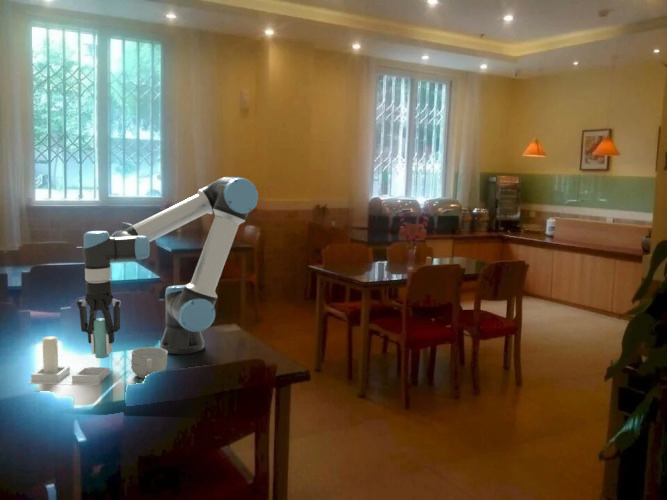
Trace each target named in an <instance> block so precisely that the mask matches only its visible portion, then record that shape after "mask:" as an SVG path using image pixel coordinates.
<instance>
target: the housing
mask: <svg viewBox="0 0 667 500" xmlns="http://www.w3.org/2000/svg"><path fill="white" fill-rule="evenodd" d="M111 373H112V371H110V368H109V367H96V366H95V367H94V366H93V367H92V366H82V367H81V368H80V369H79V370H71V367H70V366H64V365H63V366H62V365H58V373H57V374H44V368H43V366H42V367H40V368H39V369H37V370H36V371H35V370H34V372H33V373H31V374H30V377H31V378H30V379H31V381H29V382H28V384H32V385H33V384H35V385H37V384H38V385H63V386H64V385H68V386H70V385H71V386H95V387H96V386H98V385H99V384H100V383H101V382H102V381H103V380H104V379H106V378H107V376H109V375H110V374H111Z"/></svg>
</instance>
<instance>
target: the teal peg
mask: <svg viewBox="0 0 667 500" xmlns="http://www.w3.org/2000/svg"><path fill="white" fill-rule="evenodd" d="M93 332H94V339H95V354H94V355H95V358H96V359H105V358H108V357H109V356H110V354H107V352H106V334H107V333H108V331H107V327H106V323H105V319H104V317H98V318H97V317H96V319H95V320H94V331H93Z"/></svg>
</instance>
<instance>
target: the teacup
mask: <svg viewBox="0 0 667 500" xmlns="http://www.w3.org/2000/svg"><path fill="white" fill-rule="evenodd" d="M168 354H169V353H168V351H167V350H165V349H162V348H161V347H153V346H151V347H150V346H149V347H145V346H144V347H138V348H135V349H132V351H131V371H132V372H133V373H134V374H135V375H136V376H137V377H138V378H140V379H146V378H145V376H147V375H148V374H151V373H153V372H157V371H163V370H165V371H166V369H167V364H168V363H167V362H168Z"/></svg>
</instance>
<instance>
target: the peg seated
mask: <svg viewBox="0 0 667 500" xmlns="http://www.w3.org/2000/svg"><path fill="white" fill-rule="evenodd" d="M42 359H43V361H42V364H43V366H42V367H43V368H44V374H57V373H58V366H59V355H58V336H45V337H42Z"/></svg>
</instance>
